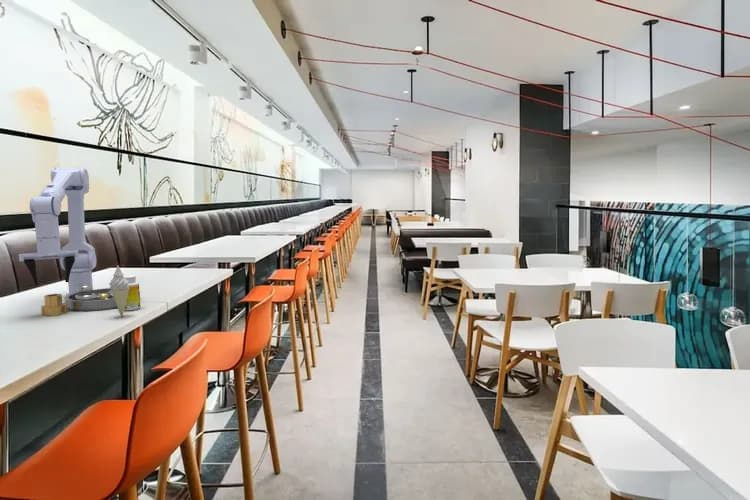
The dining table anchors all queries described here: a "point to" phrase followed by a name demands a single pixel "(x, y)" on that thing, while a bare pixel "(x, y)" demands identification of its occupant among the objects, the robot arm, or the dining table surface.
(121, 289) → the ice cream cone
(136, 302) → the beer glass
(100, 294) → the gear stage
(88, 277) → the robot arm
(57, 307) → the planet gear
